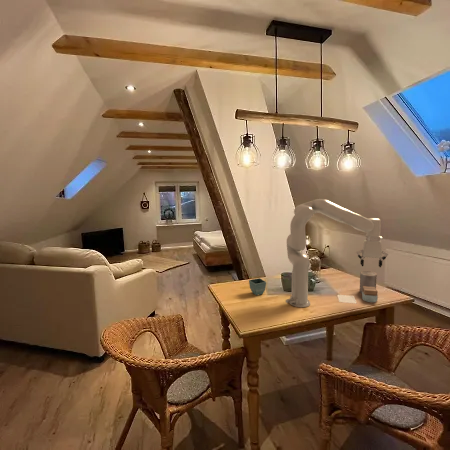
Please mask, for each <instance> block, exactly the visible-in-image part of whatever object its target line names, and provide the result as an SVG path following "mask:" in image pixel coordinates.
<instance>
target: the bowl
mask: <svg viewBox="0 0 450 450" xmlns="http://www.w3.org/2000/svg"><path fill="white" fill-rule="evenodd" d="M378 296H379V295H378V294H377V296H373V295H364V293H363V292H362V293H361V299H362V301H365V302H368V303H376V301H377V302H378V298H379V297H378Z"/></svg>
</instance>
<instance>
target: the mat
mask: <svg viewBox="0 0 450 450" xmlns="http://www.w3.org/2000/svg"><path fill="white" fill-rule="evenodd" d="M337 298H338V302H339V303H346V304H357V300H356V298H355V296H354V295H345V294H337Z"/></svg>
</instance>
